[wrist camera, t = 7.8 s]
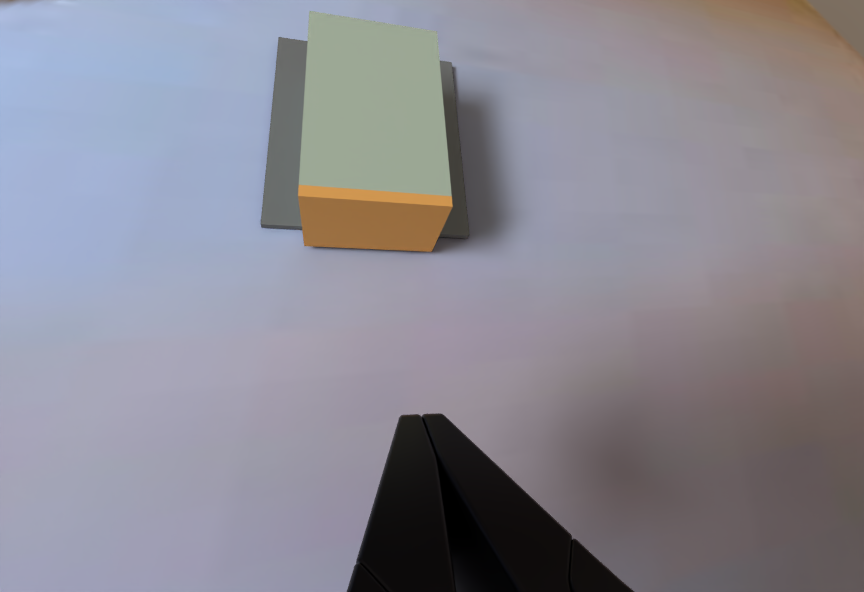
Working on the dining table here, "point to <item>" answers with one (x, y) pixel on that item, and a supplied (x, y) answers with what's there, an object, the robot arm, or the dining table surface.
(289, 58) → the mat
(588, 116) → the dining table surface
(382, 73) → the block
